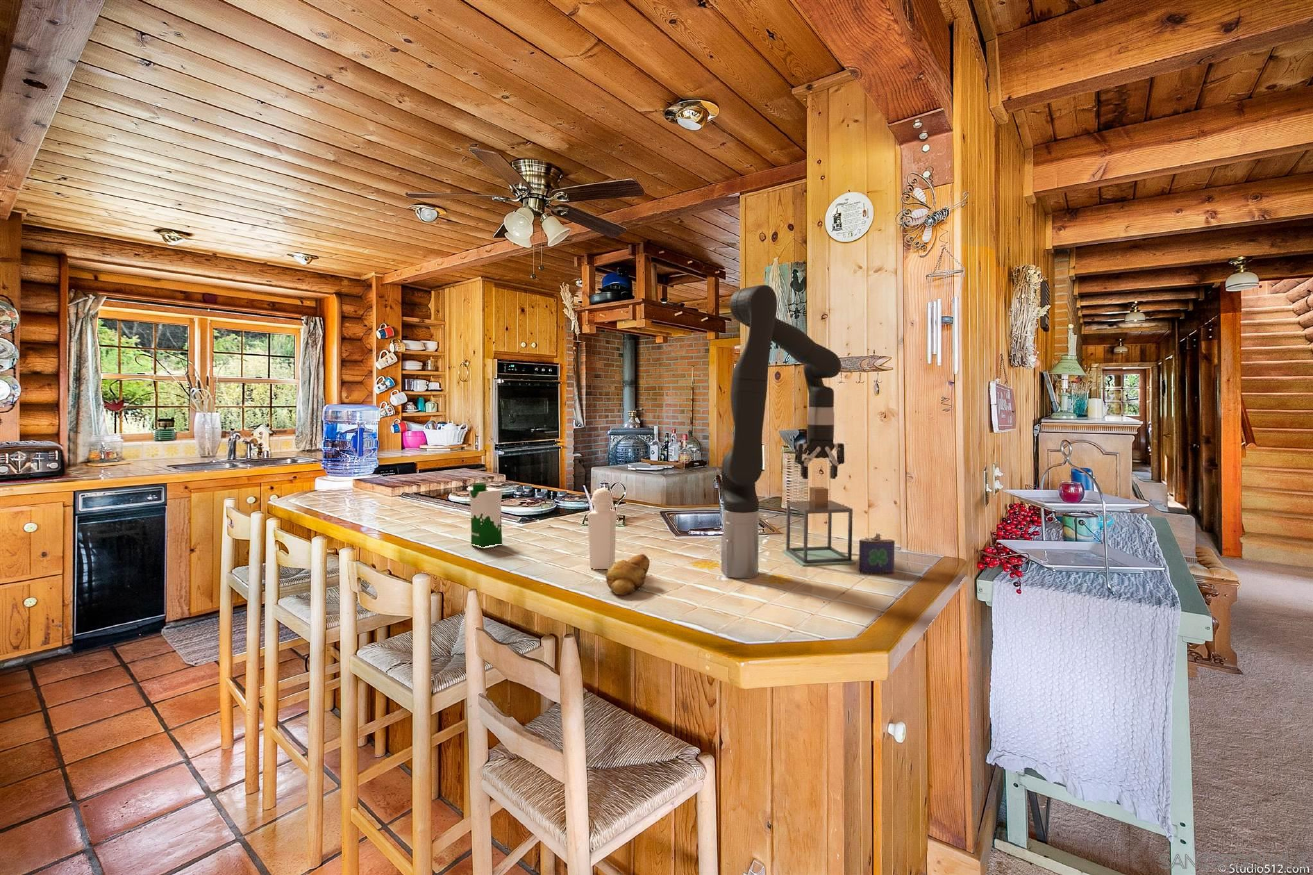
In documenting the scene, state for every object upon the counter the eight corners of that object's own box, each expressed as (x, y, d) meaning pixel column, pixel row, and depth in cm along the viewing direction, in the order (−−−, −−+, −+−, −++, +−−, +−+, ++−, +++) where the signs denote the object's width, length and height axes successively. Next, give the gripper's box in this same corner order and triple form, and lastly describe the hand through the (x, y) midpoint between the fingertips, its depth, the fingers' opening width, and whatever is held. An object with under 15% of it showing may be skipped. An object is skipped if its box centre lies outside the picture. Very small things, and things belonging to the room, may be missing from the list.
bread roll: (633, 600, 137) (633, 566, 136) (595, 595, 140) (595, 562, 140) (652, 583, 149) (652, 552, 148) (616, 579, 152) (616, 549, 152)
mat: (802, 566, 164) (802, 564, 164) (782, 551, 179) (782, 549, 179) (856, 563, 166) (856, 561, 166) (831, 549, 182) (831, 547, 182)
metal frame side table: (804, 563, 165) (805, 492, 163) (786, 550, 179) (787, 485, 177) (851, 561, 167) (852, 491, 166) (829, 548, 181) (831, 483, 179)
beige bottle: (616, 564, 166) (616, 486, 165) (611, 571, 160) (610, 490, 158) (594, 563, 167) (593, 486, 166) (587, 569, 161) (587, 489, 159)
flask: (892, 571, 159) (893, 532, 158) (896, 574, 156) (897, 534, 155) (857, 571, 159) (858, 532, 158) (860, 574, 156) (861, 534, 155)
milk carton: (467, 545, 187) (465, 483, 186) (492, 540, 194) (491, 480, 193) (481, 550, 181) (479, 486, 180) (506, 545, 188) (505, 483, 187)
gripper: (802, 423, 165) (800, 481, 167) (849, 423, 168) (848, 480, 169) (792, 422, 173) (790, 477, 174) (837, 422, 175) (836, 476, 176)
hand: (819, 478), depth 171 cm, fingers open, 8 cm apart
